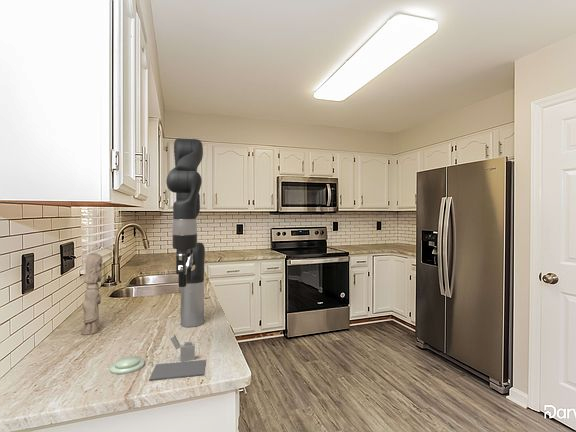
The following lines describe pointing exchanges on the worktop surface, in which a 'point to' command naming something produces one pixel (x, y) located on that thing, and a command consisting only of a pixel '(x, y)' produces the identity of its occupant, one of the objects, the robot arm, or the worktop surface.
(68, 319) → the worktop surface
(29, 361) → the worktop surface
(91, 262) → the sculpture
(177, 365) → the mat
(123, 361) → the dish
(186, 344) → the lighter
